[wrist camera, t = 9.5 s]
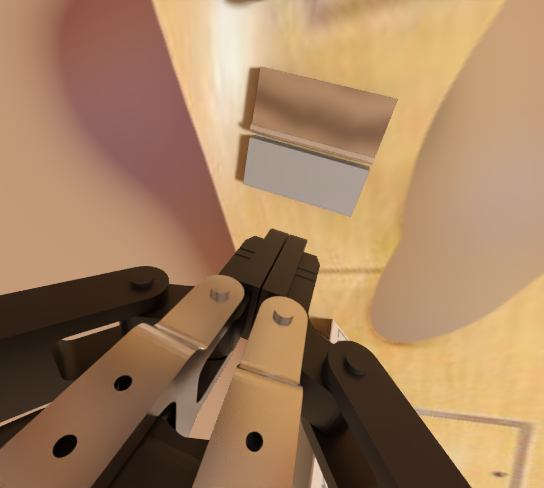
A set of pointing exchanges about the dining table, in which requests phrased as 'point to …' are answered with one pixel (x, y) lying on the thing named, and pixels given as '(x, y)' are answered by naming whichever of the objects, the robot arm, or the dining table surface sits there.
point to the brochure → (306, 469)
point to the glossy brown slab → (321, 115)
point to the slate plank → (304, 175)
